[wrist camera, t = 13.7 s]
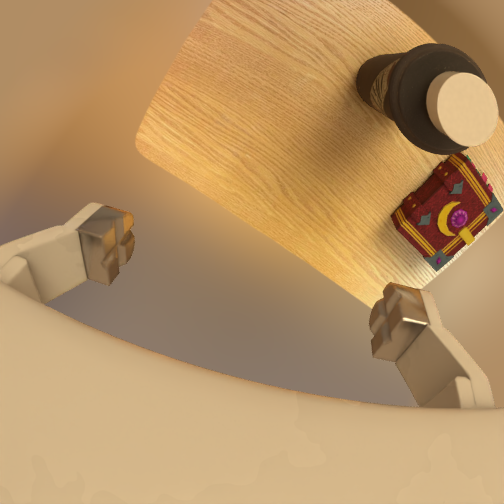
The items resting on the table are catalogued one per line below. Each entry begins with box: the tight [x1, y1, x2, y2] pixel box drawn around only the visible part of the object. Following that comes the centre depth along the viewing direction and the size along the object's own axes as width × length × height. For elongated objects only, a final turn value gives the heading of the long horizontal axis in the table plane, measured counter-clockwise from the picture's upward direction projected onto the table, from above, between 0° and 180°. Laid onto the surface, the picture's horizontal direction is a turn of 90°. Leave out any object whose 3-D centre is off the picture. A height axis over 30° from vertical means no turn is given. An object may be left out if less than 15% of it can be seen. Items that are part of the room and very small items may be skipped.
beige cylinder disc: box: [426, 71, 498, 147], centre depth 14 cm, size 5×5×3 cm
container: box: [356, 43, 487, 155], centre depth 23 cm, size 9×9×20 cm
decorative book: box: [391, 152, 503, 272], centre depth 37 cm, size 11×16×5 cm
